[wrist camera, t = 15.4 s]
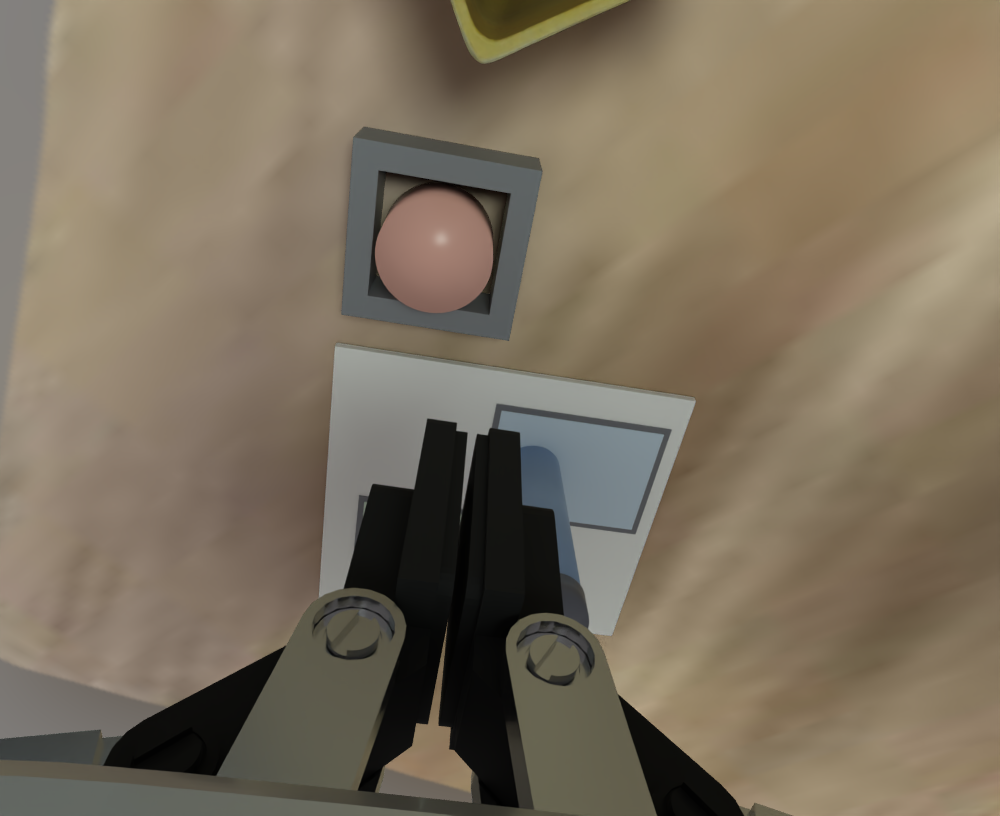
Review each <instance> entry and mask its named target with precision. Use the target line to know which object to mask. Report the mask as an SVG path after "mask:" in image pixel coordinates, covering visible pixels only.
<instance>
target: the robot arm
mask: <svg viewBox="0 0 1000 816" xmlns="http://www.w3.org/2000/svg"><path fill="white" fill-rule="evenodd" d="M456 429H457V423H456V422H449V421H442V420H436V419H429V418H427V422H426V428H425V433H424V439H423V444H422V449H421V455H420V460H419V466H418V471H417V476H416V482H415V487H414V489H408V488H401V487H394V486H387V485H380V484H372V487H371V490H370V493H369V497H368V501H367V504H366V508H365V512H364V515H363V519H362V523H361V526H360V530H359V534H358V537H357V541H356V545H355V548H354V552H353V556H352V559H351V563H350V567H349V570H348V574H347V578H346V581H345V585H344V589H339V590H336V591H333V592H330V593H327V594H325V595H323V596H322V597H320V598H319V599H317V600H316V601H314V602H313V603H312V604H311V605H310V606H309V608H308V609H307V610H306V611H305V613H304V614H303V616H302V618H301V620H300V621H299V623H298V625H297V627H296V629H295V631H294V633H293V634H292V636H291V638H290V640H289V642H288V644H287V645H286V646H284V647H283V648H281V649H279V650H277V651H275V652H273V653H271V654H269V655H267V656H265V657H263V658H262V659H260V660H258V661H256V662H254V663H252V664H250V665H248V666H246V667H244V668H242V669H241V670H239V671H237V672H235V673H233V674H231V675H229V676H227V677H225V678H223V679H222V680H220V681H218V682H216V683H214V684H212V685H210V686H208V687H206V688H204V689H202V690H201V691H199V692H197V693H195V694H193V695H191V696H189V697H187V698H185V699H183V700H181V701H180V702H178V703H176V704H174V705H172V706H170V707H168V708H166V709H164V710H163V711H161V712H159V713H157V714H155V715H153V716H151V717H149V718H147V719H145V720H144V721H142V722H141V723H139V724H138V725H136V726H135V727H133V728H132V729H130V730H129V731H127V732H126V733H125V734H124V735H123V736H117V737H106V738H102V733H101V730H91V731H80V732H70V733H59V734H48V735H37V736H27V737H16V738H5V739H0V816H792V815H789V814H786V813H783V812H781V811H778V810H775V809H772V808H769V807H766V806H763V805H760V804H757V803H754V805H753V806H752V808H751V810H750V809H747V808H744V807H741V806H739V805H738V804H737V802H736V800H735V799H734V798H733V797H732V796H731V795H730V794H729V793H728V792H727V790H726V789H725V788H724V787H723V786H722V785H721V784H720V783H719V782H717V781H716V780H715V779H714V778H713V777H712V776H711V775H709V774H708V773H707V772H706V771H705V770H704V769H703V768H701V767H700V766H699V765H698V764H697V763H696V762H695V761H694V760H692V759H691V758H690V757H689V756H688V755H687V754H686V753H684V752H683V751H682V750H681V749H680V748H679V747H678V746H676V745H675V744H674V743H673V742H672V741H671V740H670V739H668V738H667V737H666V736H665V735H664V734H663V733H662V732H660V731H659V730H658V729H657V728H656V727H655V726H654V725H653V724H651V723H650V722H649V721H648V720H647V719H646V718H645V717H643V716H642V715H641V714H640V713H639V712H638V711H637V710H635V709H634V708H633V707H632V706H631V705H630V704H629V703H627V702H626V701H625V700H624V699H623V698H622V697H621V696H619V695H618V694H617V690H616V687H615V684H614V681H613V678H612V675H611V672H610V669H609V666H608V663H607V659H606V656H605V653H604V651H603V649H602V647H601V645H600V643H599V641H598V639H597V638H596V637H595V636H594V635H593V634H592V633H591V632H590V631H589V629H587V628H586V627H584V626H583V625H581V624H580V623H578V622H577V621H575V620H573V619H571V618H568V617H565V616H564V610H563V600H562V589H561V578H560V567H559V556H558V545H557V534H556V523H555V515H554V511H553V509H548V508H541V507H534V506H527V505H522V478H521V445H520V432H515V431H509V430H502V429H495V428H490V429H489V432H488V435H482V434H477V436H476V440H475V446H474V451H473V457H472V462H471V467H470V473H469V478H468V483H467V489H466V494H465V500H464V505H463V510H462V516H461V504H462V493H463V482H464V470H465V459H466V447H467V436H468V432H462V431H456ZM460 516H461V521H460ZM447 621H448V625H447ZM446 627H447V636H446V647H445V658H444V668H443V679H442V690H441V701H440V711H439V726H446V727H451V733H450V746H449V749H451V750H455V752H456V753H457V754H458V755H459V756H460V757H461V758H462V759H463V761H464V762H465V763H466V764H467V765H468V766H469V767H470V768H471V770H472V775H471V794H472V803H467V802H458V801H449V800H440V799H430V798H421V797H411V796H402V795H393V794H384V793H379V790H380V787H381V784H382V781H383V778H384V771H385V765H386V764H388V763H389V762H390V761H392V760H393V759H394V758H396V757H397V756H399V755H400V754H401V753H403V752H404V751H406V750H407V749H408V748H410V747H411V746H412V743H413V738H414V732H415V727H416V723H420V724H428V721H429V715H430V710H431V705H432V700H433V695H434V689H435V684H436V679H437V674H438V668H439V663H440V658H441V653H442V648H443V642H444V637H445V632H446Z"/></svg>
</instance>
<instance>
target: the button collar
mask: <svg viewBox="0 0 1000 816" xmlns="http://www.w3.org/2000/svg"><path fill="white" fill-rule="evenodd" d="M386 172H392V173H397V174H403V175H409V176H415V177H420V178H426V179H432V180H437V181H443V182H449V183H454V184H460V185H466V186H471V187H477V188H483V189H488V190H494V191H500V192H505V193H507V199H506V205H505V210H504V216H503V222H502V227H501V233H500V238H499V244H498V250H497V255H496V261H495V267H494V272H493V278H492V284H491V289H490V294H487V293H480V294H479V295H478V296H477V297H476V298H475V299H474V300H473V301H472V302H470V303H469V304H467V305H466V306H464V307H462V308H460V309H457V310H454V311H450V312H445V313H428V312H423V311H419V310H416V309H413V308H411V307H409V306H407V305H405V304H404V303H402V302H400V301H399V300H398V299H397V298H395V297H394V296H393V295H392V294H391V293H390V292H389V290H388V289H387V288H386V286H385V285H384V283H383V281H382V280H381V278H380V276H376V272H377V266H376V260H375V247H376V241H377V237H378V234H379V232H380V228H381V217H382V206H383V195H384V185H385V174H386ZM541 176H542V168H541V164H540V160H539V158H534V157H528V156H523V155H517V154H512V153H506V152H501V151H495V150H490V149H484V148H479V147H473V146H468V145H462V144H457V143H451V142H446V141H440V140H435V139H429V138H423V137H418V136H412V135H407V134H401V133H396V132H390V131H385V130H379V129H374V128H368V127H363V128H362V129H361V130H360V131H359V132H358V133H357V134H356V135H355V136H354V137H353V150H352V165H351V179H350V194H349V209H348V224H347V238H346V253H345V268H344V283H343V297H342V312H341V314H342V315H348V316H355V317H361V318H367V319H374V320H380V321H386V322H393V323H399V324H406V325H412V326H418V327H425V328H431V329H438V330H444V331H450V332H457V333H463V334H469V335H476V336H482V337H489V338H495V339H501V340H508V341H509V338H510V333H511V328H512V323H513V318H514V313H515V307H516V302H517V297H518V292H519V287H520V282H521V277H522V272H523V267H524V262H525V257H526V252H527V247H528V242H529V237H530V232H531V227H532V222H533V217H534V212H535V207H536V201H537V196H538V191H539V186H540V181H541Z"/></svg>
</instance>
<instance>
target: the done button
mask: <svg viewBox="0 0 1000 816" xmlns="http://www.w3.org/2000/svg"><path fill="white" fill-rule="evenodd" d="M375 260H376V266H377V270H378V273H379V275H380V278H381V280H382V281H383V283H384V285H385V286H386V288H387V289H388V290H389V292H390V293H391V294H392V295H393V296H394V297H395V298H397V299H398V300H399V301H400V302H402V303H404V304H405V305H407V306H409V307H411V308H413V309H416V310H419V311H423V312H428V313H445V312H450V311H454V310H457V309H460V308H462V307H464V306H466V305H467V304H469V303H470V302H472V301H473V300H474V299H475V298H476V297H477V296H478V295H479V294H480V293H481V292H482V290H483V289H484V288H485V286H486V284H487V282H488V280H489V277H490V275H491V271H492V265H493V231H492V225H491V222H490V219H489V216H488V214H487V212H486V211H485V209H484V207H483V206H482V205H481V203H480V202H479V201H478V200H477V199H476V198H475V197H474V196H473V195H471V194H470V193H469V192H467V191H466V190H464V189H462V188H460V187H458V186H455V185H452V184H448V183H441V182H431V183H425V184H421V185H418V186H416V187H413V188H411V189H410V190H408V191H406V192H405V193H404V194H403V195H401V196H400V197H399V198H398V199H397V200H396V202H395V203H394V204H393V206H392V207H391V209H390V211H389V213H388V215H387V217H386V219H385V221H384V223H383V226H382V228H381V230H380V232H379V234H378V237H377V241H376V247H375Z"/></svg>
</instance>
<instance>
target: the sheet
mask: <svg viewBox="0 0 1000 816" xmlns="http://www.w3.org/2000/svg"><path fill="white" fill-rule="evenodd" d="M695 403H696V400H695V398H694V397H689V396H683V395H676V394H670V393H663V392H657V391H650V390H644V389H637V388H630V387H624V386H617V385H611V384H604V383H598V382H591V381H585V380H578V379H572V378H565V377H559V376H552V375H545V374H539V373H532V372H526V371H519V370H513V369H506V368H500V367H493V366H487V365H480V364H474V363H467V362H460V361H454V360H447V359H441V358H434V357H428V356H421V355H415V354H408V353H402V352H395V351H389V350H382V349H375V348H369V347H362V346H356V345H349V344H343V343H336V345H335V354H334V370H333V385H332V401H331V416H330V432H329V447H328V463H327V478H326V494H325V509H324V525H323V540H322V556H321V571H320V587H319V598H320V597H322V596H323V595H325V594H327V593H330V592H333V591H336V590H339V589H344V585H345V581H346V578H347V574H348V570H349V567H350V563H351V559H352V556H353V552H354V548H355V545H356V541H357V537H358V534H359V530H360V526H361V523H362V519H363V515H364V512H365V508H366V504H367V501H368V497H369V493H370V490H371V487H372V484H380V485H387V486H394V487H401V488H408V489H414V487H415V482H416V476H417V471H418V466H419V460H420V455H421V449H422V444H423V439H424V433H425V428H426V422H427V418H429V419H436V420H442V421H449V422H456V423H457V429H456V431H462V432H468V436H467V447H466V459H465V470H464V482H463V493H462V504H461V516H462V510H463V505H464V500H465V494H466V489H467V483H468V478H469V473H470V467H471V462H472V457H473V451H474V446H475V440H476V436H477V434H482V435H488V432H489V429H490V428H495V429H502V430H509V431H515V432H520V445H521V448H522V447H526V446H540V447H543V448H546V449H548V450H549V451H551V452H552V453H553V454H554V455H555V456H556V457H557V459H558V461H559V466H560V471H561V477H562V483H563V488H564V494H565V500H566V505H567V511H568V517H569V522H570V528H571V534H572V539H573V545H574V551H575V556H576V562H577V568H578V573H579V579H580V585H581V586H582V588H583V590H584V593H585V598H586V604H587V609H588V615H589V627H588V629H589V631H590V632H591V633H592V634H599V635H608V636H612V634H613V631H614V628H615V626H616V623H617V620H618V617H619V614H620V612H621V609H622V606H623V603H624V601H625V598H626V595H627V592H628V589H629V587H630V584H631V581H632V578H633V575H634V573H635V570H636V567H637V564H638V561H639V559H640V556H641V553H642V550H643V548H644V545H645V542H646V539H647V536H648V534H649V531H650V528H651V525H652V522H653V520H654V517H655V514H656V511H657V509H658V506H659V503H660V500H661V497H662V495H663V492H664V489H665V486H666V483H667V481H668V478H669V475H670V472H671V470H672V467H673V464H674V461H675V458H676V456H677V453H678V450H679V447H680V444H681V442H682V439H683V436H684V433H685V431H686V428H687V425H688V422H689V419H690V417H691V414H692V411H693V408H694V405H695ZM461 516H460V521H461Z"/></svg>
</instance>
